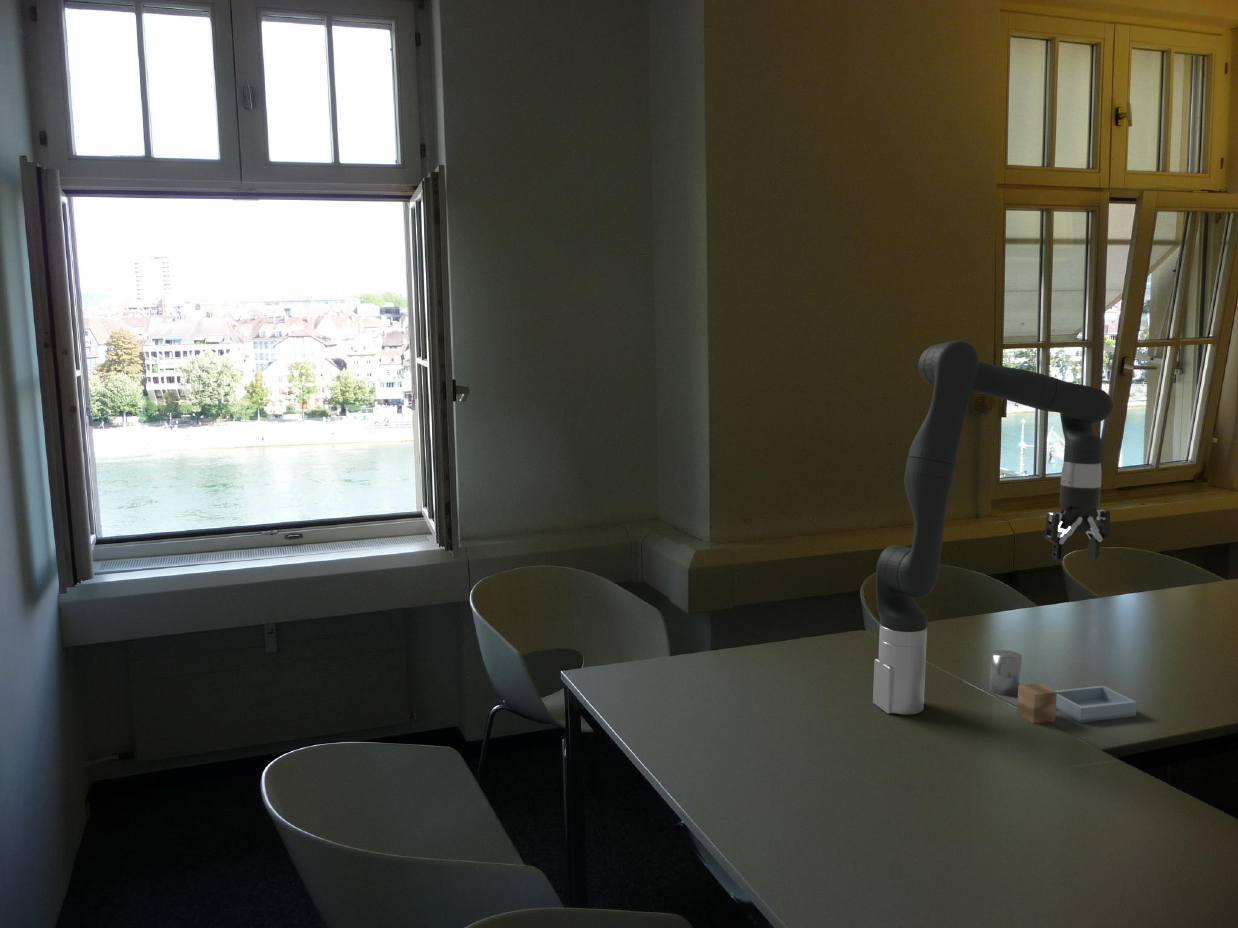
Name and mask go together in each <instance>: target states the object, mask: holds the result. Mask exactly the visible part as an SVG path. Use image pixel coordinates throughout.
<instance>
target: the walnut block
mask: <svg viewBox="0 0 1238 928" xmlns="http://www.w3.org/2000/svg"><path fill="white" fill-rule="evenodd" d="M1056 691H1057V690H1054V689H1051V688H1050V687H1048V686H1047V685H1044V684H1042V683H1041V682H1039V683H1027V684H1020V685H1018V695H1017V706H1016V714H1017V715H1019V716H1020V717H1021V718H1022V719H1024V720H1026V721H1028V722H1029V723H1031V724H1033V725H1034V724H1042V723H1050V722H1056V712H1057V710H1056V701H1057V692H1056Z"/></svg>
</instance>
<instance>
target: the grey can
mask: <svg viewBox="0 0 1238 928" xmlns="http://www.w3.org/2000/svg"><path fill="white" fill-rule="evenodd" d="M990 656H991V658H990V672H989V673H990V676H989V691H991V692H992V693H994V694H996V695H999V696H1005V697H1014V696H1015V697H1016V696H1018V685H1021V681H1022V680H1021V679H1022V664H1023V663H1022V661H1023V656H1022V654H1020V653H1018V652H1016V651H1012V650H1007V649H995V650H993V651H991V655H990Z"/></svg>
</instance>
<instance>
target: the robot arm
mask: <svg viewBox="0 0 1238 928" xmlns="http://www.w3.org/2000/svg"><path fill="white" fill-rule="evenodd" d="M919 357H920V358H919V360H918V366H917V367H918V372H919V374H920V377H921V379H923V381H924V382H925V383H926V384H928V385H930V386H932V387H933V392H932V398H931V402H930V403H931V404H930V406H929V409H928V412H927V414H926V417H925V419H924V420H923V422H922V424H921V426H920V428H919V429H918V431H917V433H916V434H915V437H914V439H913V441H912V443H911V446H910V447H909V448H910V449H909V452H908V457H907V459H906V460H907V461H906V467H905V469H904V470H905V471H904V476H903V485H904V489H905V494H906V497H907V500H908V505H909V506H910V510H911V514H912V517H913V518H912V519H913V525H914V526H913V537H912V544H911V547H908V546H907V547H906V546H903V545H898V544H894V545H893V544H892V545H889V546H887V547H885V548H884V549H883V550H882V552H881V553H880V555H879V558H878V560H877V564H876V571H875V586H876V587H875V588H876V591H875V593H876V595H875V596H876V597H875V598H876V599H875V600H876V610H877V612H878V615H879V638H878V639H879V640H878V658H874V662H873V688H872V690H873V692H872V694H873V695H872V704H874V705H875V706H877V707H878V708H879V709H881V710H882V711H884V712H885V713H886V714H898V715H916V714H919V713H922V712H923V711H924V707H925V705H924V704H925V686H926V683H925V681H926V661H927V657H926V656H927V639H928V614H927V613H926V611H925V610H924V609H922V607H920V606H919V605H918V603H916V602H915V600H914V598H919V599H921V598H926V597H928V596H929V595H931V593H932V592H933V590H934V588H935V586H936V584H937V581H938V578H939V574H940V569H941V568H940V567H941V559H942V558H941V557H942V547H943V536H944V528H945V521H946V516H947V509H948V505H949V504H948V503H949V498H950V493H951V489H952V483H953V480H954V477H955V470H956V465H957V459H958V452H959V448H960V443H961V438H962V433H963V427H964V423H965V418H966V415H967V414H966V413H967V410H968V407H969V402H970V400H971V396H972V393H973V392H974V393H979V394H984V395H989V396H992V397H996V398H1000V399H1002V400H1005V401H1009V402H1012V403H1016V404H1019V405H1023V406H1025V407H1028V408H1029V407H1030V408H1032V409H1036V410H1040V411H1044V412H1052V413H1059V414H1060V415H1059V416H1060V423H1061V428H1062V433H1063V437H1064V450H1063V461H1062V462H1063V464H1062V468H1061V474H1060V476H1061V477H1060V486H1059V487H1060V488H1059V489H1060V490H1059V504H1060V507H1061V508H1060V511H1059V512H1054V511H1048V512H1046V518H1045V528H1044V536H1043V538H1044V539H1045V540H1046V541H1049V542H1051V543H1052V548H1051V549H1052V551H1051V557H1052V559H1053V561H1055V562H1058V563H1059V562H1064V554H1065V544H1064V543H1065V542H1066V540H1067V539H1068V538H1069V537H1071V536H1072V535H1073V534H1074V533H1080V532H1083V533H1085V534H1086V535H1087V537H1088V538H1089V540H1088V541H1087V558H1088V559H1090V560H1098V557H1099V556H1100V550H1101V542H1102V541H1103V540H1104V539H1109V538H1110V536H1111V532H1110V531H1111V512H1110V511H1109V510H1107V509H1103V508H1099V506H1100V503H1101V501H1100V500H1101V487H1102V473H1103V472H1102V452H1103V439H1102V437H1100V436H1099V435H1098V434H1096V433H1095V431H1094V429H1093V427H1094V426H1093V423H1094V424H1096V423H1099V422H1102V421H1104V420H1106V419H1107V418H1109V416H1110V415H1111V413H1112V412H1113V408H1114V401H1113V400H1112V397H1111V396H1110V394H1108V392H1106V391H1105V390H1103V389H1101V388H1098V387H1094V386H1090V385H1085V384H1081V383H1080V384H1079V383H1074V382H1069V381H1066V380H1065V381H1064V380H1063V379H1059V378H1057V377H1054V376H1051V375H1047V374H1044V373H1041V372H1036V371H1032V370H1027V369H1022V368H1017V367H1016V368H1015V367H1008V366H1002V365H997V364H991V363H987V362H984V361H980V360H979V356H978V353H977V351H976V348H974V346H973V345H972V344H971V343H969V342H967V341H964V340H952V341H947V342H946V341H945V342H940V343H936V344H934V345H931V346H929V347H927V348H926V349H925V350H924V351H923V352H922V353H921V355H920V356H919ZM1097 508H1098V509H1097ZM1095 521H1096V523H1095Z"/></svg>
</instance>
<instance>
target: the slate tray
mask: <svg viewBox="0 0 1238 928" xmlns="http://www.w3.org/2000/svg"><path fill="white" fill-rule="evenodd" d="M1055 691H1056V692H1057V701H1056V711H1058V712H1059V713H1061V714H1063V715H1065V716H1067V717H1069V718H1071V719H1073V720H1074V721H1076V722H1077V723H1079V724H1082V723H1083V724H1084V723H1092V722H1093V723H1094V722H1100V721H1109V720H1115V719H1117V720H1118V719H1126V718H1134V717H1137V706H1138V701H1135V700H1134V699H1131V698H1129V697H1128V696H1126V695H1124V694H1121V693H1119V692H1117V691H1115V690H1113V689H1111V688H1109V687H1107V686H1105V685H1097V686H1096V685H1095V686H1088V687H1078V688H1068V689H1060V690H1059V689H1057V690H1055Z"/></svg>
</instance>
